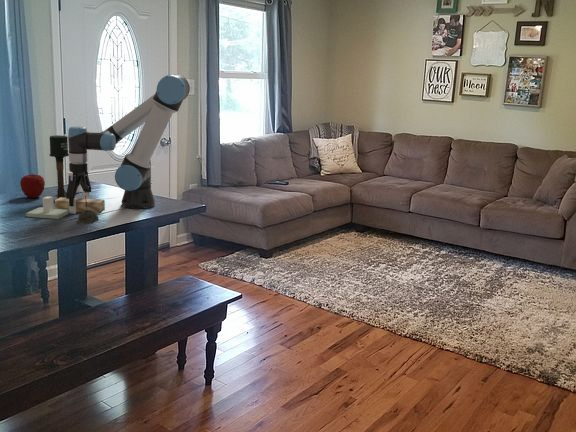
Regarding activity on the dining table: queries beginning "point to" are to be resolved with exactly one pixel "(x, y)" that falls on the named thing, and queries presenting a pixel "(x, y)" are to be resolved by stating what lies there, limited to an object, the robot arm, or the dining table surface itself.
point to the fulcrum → (48, 210)
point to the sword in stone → (87, 216)
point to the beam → (81, 204)
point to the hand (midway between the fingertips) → (79, 209)
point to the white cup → (78, 186)
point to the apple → (32, 185)
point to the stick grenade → (59, 159)
